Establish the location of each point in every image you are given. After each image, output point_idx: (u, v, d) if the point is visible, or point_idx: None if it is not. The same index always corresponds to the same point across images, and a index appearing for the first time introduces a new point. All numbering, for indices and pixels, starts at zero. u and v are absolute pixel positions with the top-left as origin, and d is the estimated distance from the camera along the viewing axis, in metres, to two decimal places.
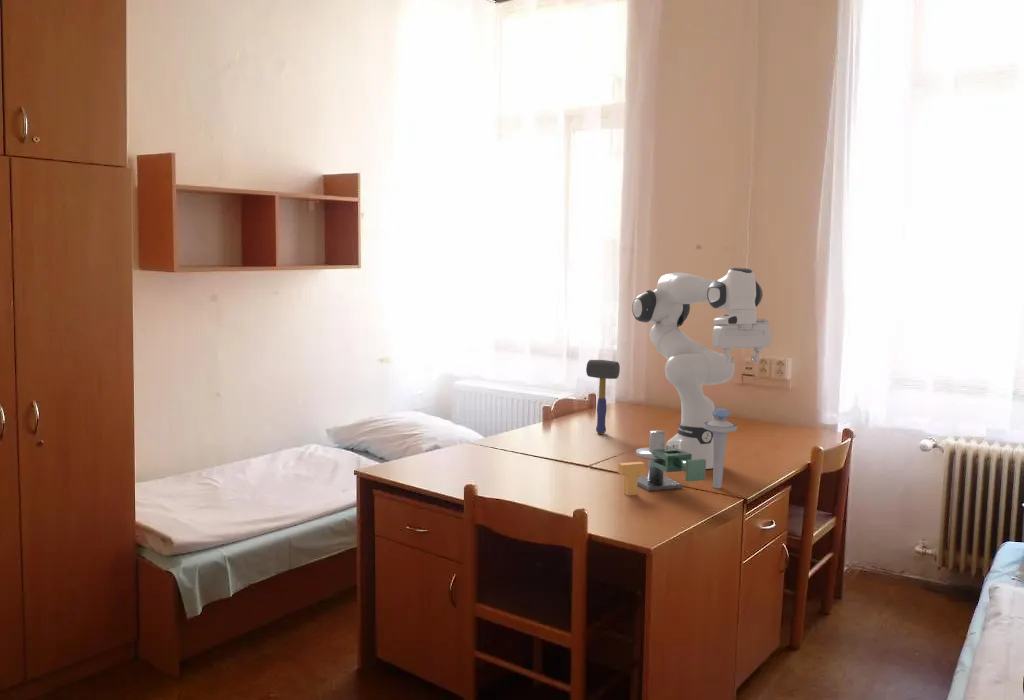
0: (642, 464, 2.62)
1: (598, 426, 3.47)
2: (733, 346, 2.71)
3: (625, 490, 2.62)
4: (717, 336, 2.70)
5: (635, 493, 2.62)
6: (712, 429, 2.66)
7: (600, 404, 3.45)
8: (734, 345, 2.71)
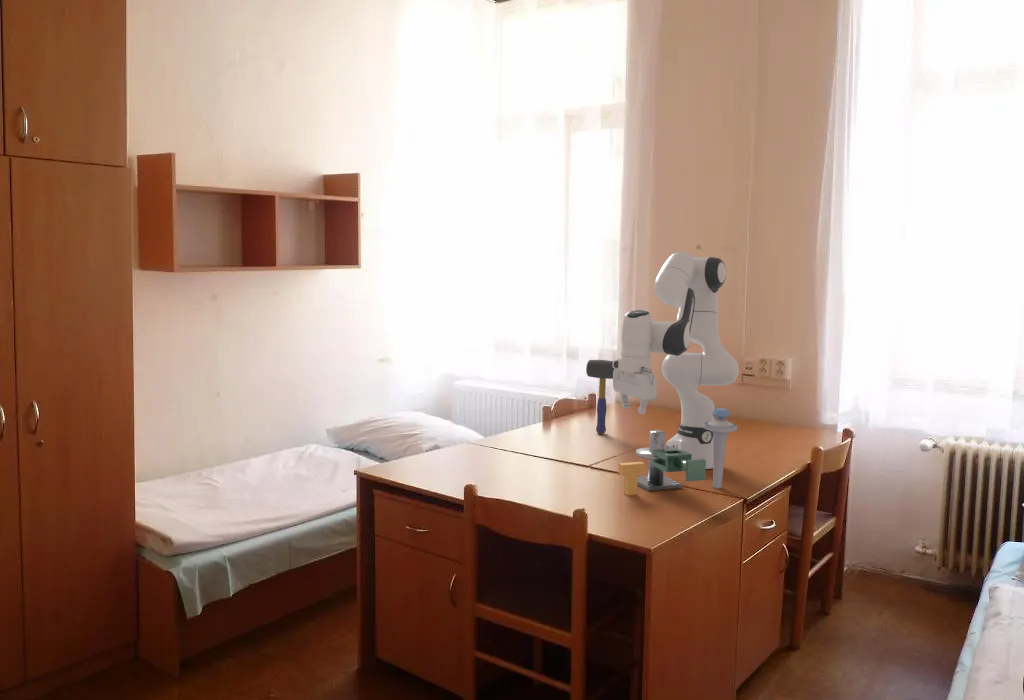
0: (642, 464, 2.62)
1: (598, 426, 3.47)
2: (621, 391, 2.63)
3: (625, 490, 2.62)
4: None
5: (635, 493, 2.62)
6: (712, 429, 2.66)
7: (600, 404, 3.45)
8: (622, 390, 2.62)
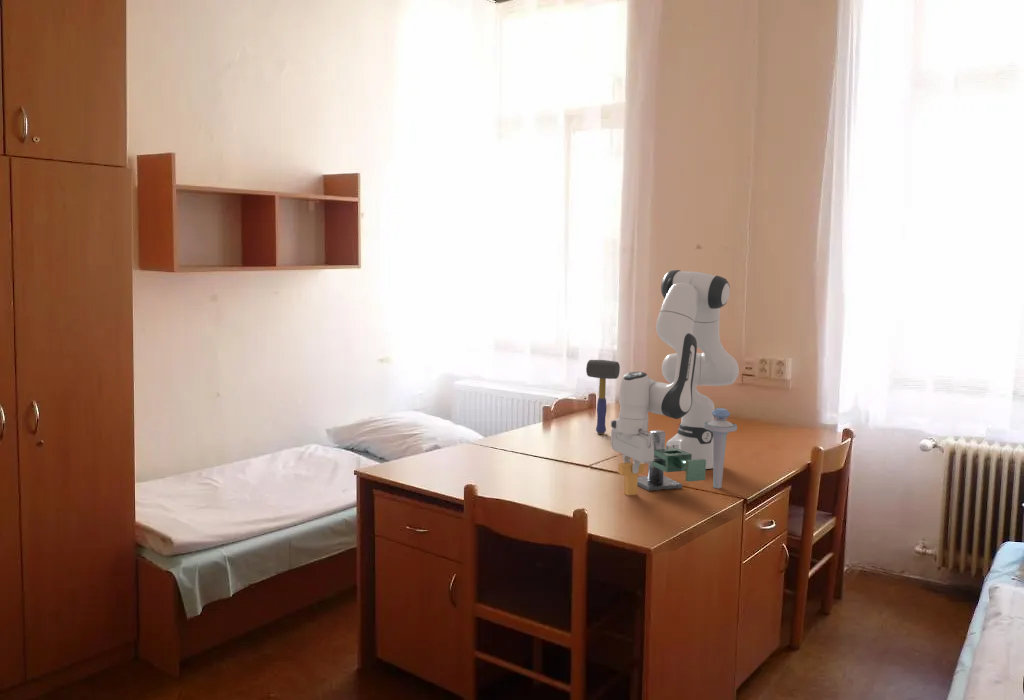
0: (642, 464, 2.62)
1: (598, 426, 3.47)
2: (619, 451, 2.65)
3: (625, 490, 2.62)
4: None
5: (635, 493, 2.62)
6: (712, 429, 2.66)
7: (600, 404, 3.45)
8: (619, 450, 2.64)
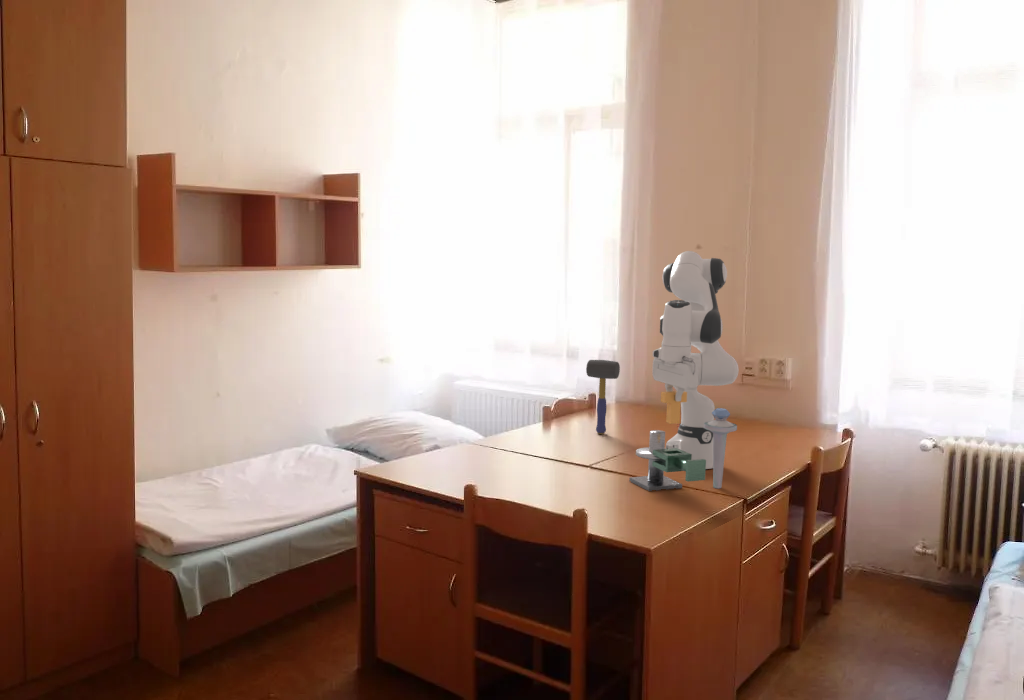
0: (685, 393, 2.62)
1: (598, 426, 3.47)
2: (661, 380, 2.65)
3: (667, 419, 2.63)
4: None
5: (677, 422, 2.62)
6: (712, 429, 2.66)
7: (600, 404, 3.45)
8: (662, 379, 2.65)
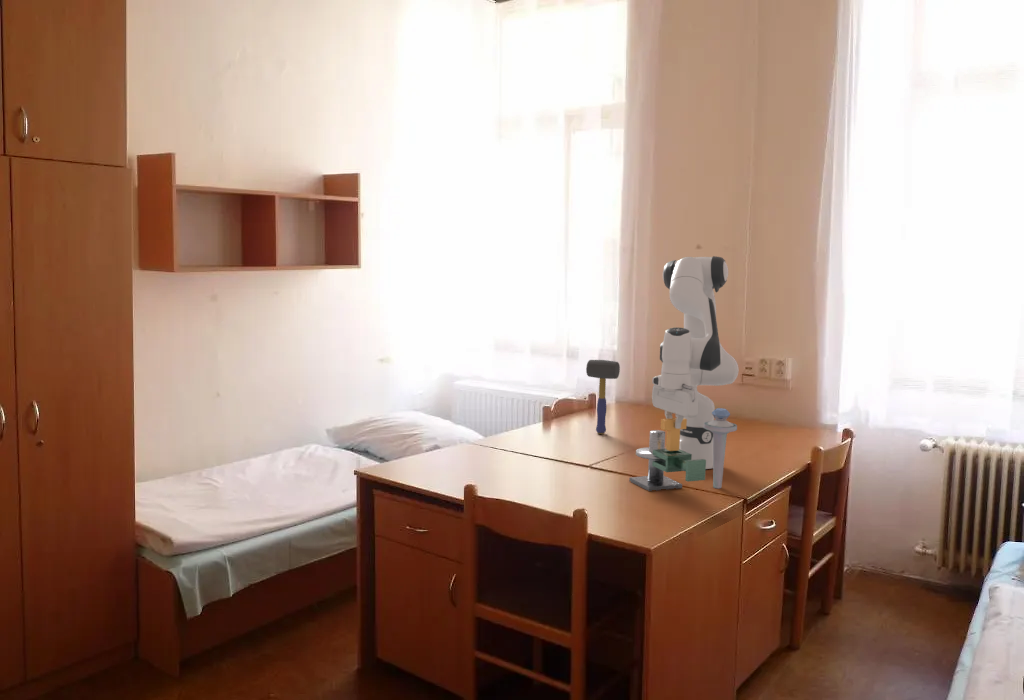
0: (684, 420, 2.63)
1: (598, 426, 3.47)
2: (661, 407, 2.66)
3: (667, 446, 2.64)
4: None
5: (677, 449, 2.63)
6: (712, 429, 2.66)
7: (600, 404, 3.45)
8: (661, 406, 2.66)
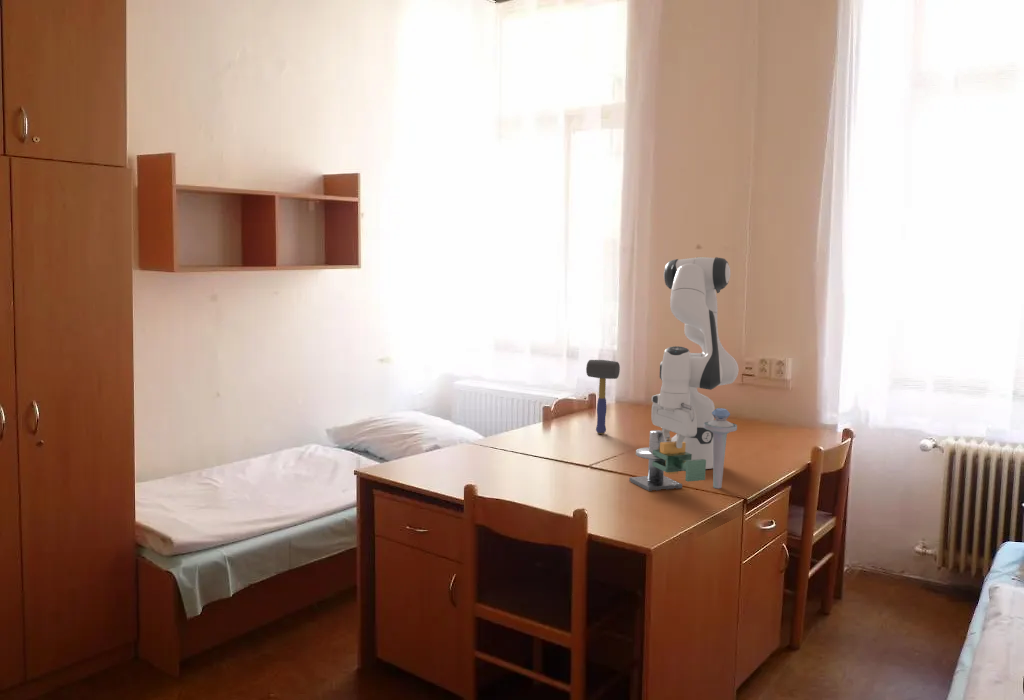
0: (683, 443, 2.64)
1: (598, 426, 3.47)
2: (660, 426, 2.67)
3: None
4: None
5: (676, 472, 2.64)
6: (712, 429, 2.66)
7: (600, 404, 3.45)
8: (661, 425, 2.67)
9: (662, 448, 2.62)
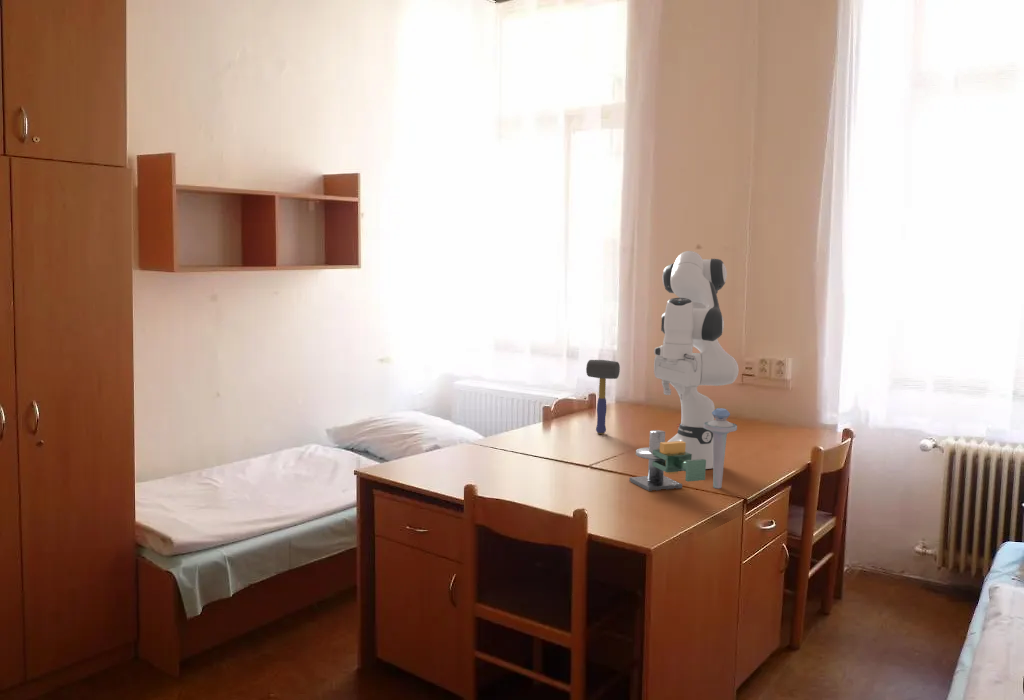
0: (683, 443, 2.64)
1: (598, 426, 3.47)
2: (663, 378, 2.65)
3: None
4: None
5: (676, 472, 2.64)
6: (712, 429, 2.66)
7: (600, 404, 3.45)
8: (663, 377, 2.65)
9: (662, 448, 2.62)
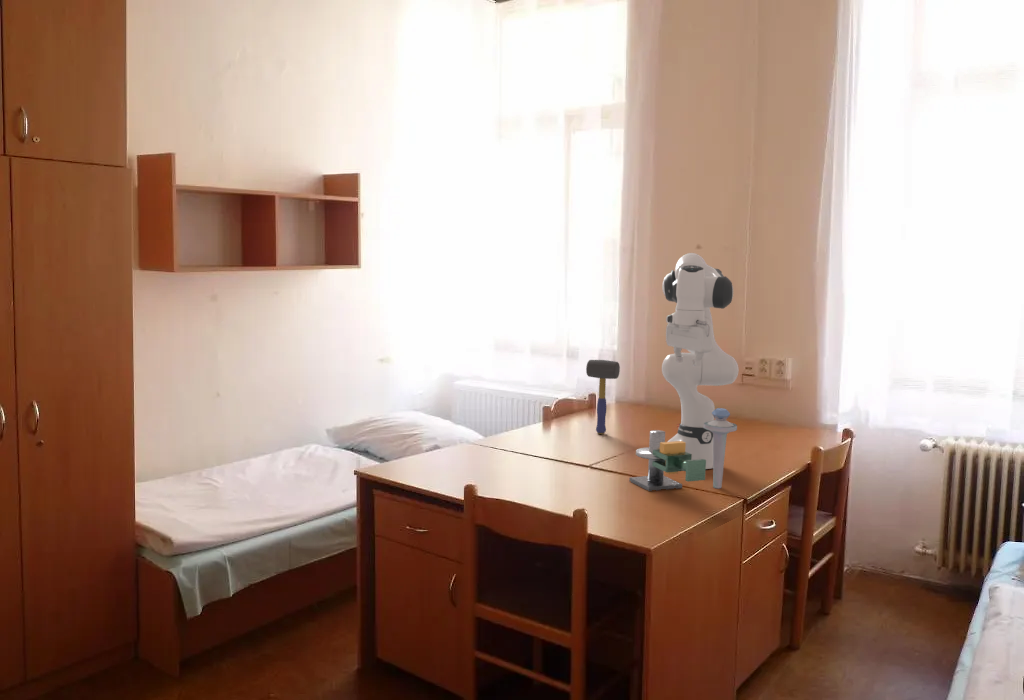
0: (683, 443, 2.64)
1: (598, 426, 3.47)
2: (675, 345, 2.69)
3: None
4: None
5: (676, 472, 2.64)
6: (712, 429, 2.66)
7: (600, 404, 3.45)
8: (675, 344, 2.69)
9: (662, 448, 2.62)
